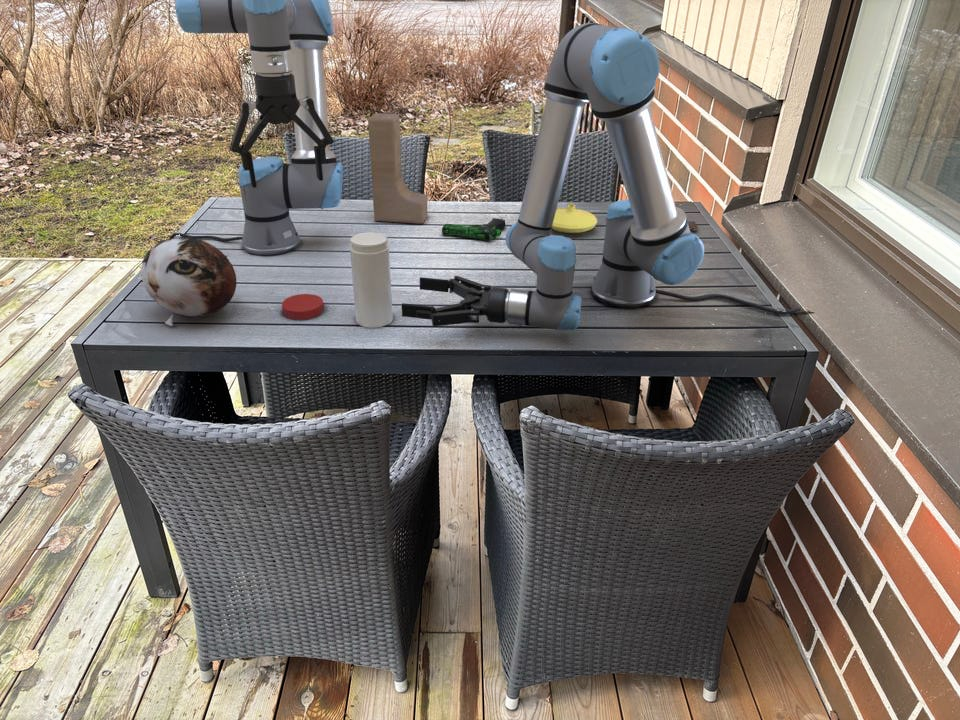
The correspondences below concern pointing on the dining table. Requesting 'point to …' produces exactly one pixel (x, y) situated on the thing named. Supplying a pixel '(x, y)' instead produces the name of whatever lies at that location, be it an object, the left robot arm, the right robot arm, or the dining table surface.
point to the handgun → (476, 230)
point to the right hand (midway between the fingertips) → (411, 296)
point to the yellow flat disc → (573, 220)
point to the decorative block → (391, 174)
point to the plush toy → (188, 277)
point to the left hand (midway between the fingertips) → (287, 182)
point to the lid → (302, 306)
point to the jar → (371, 279)
